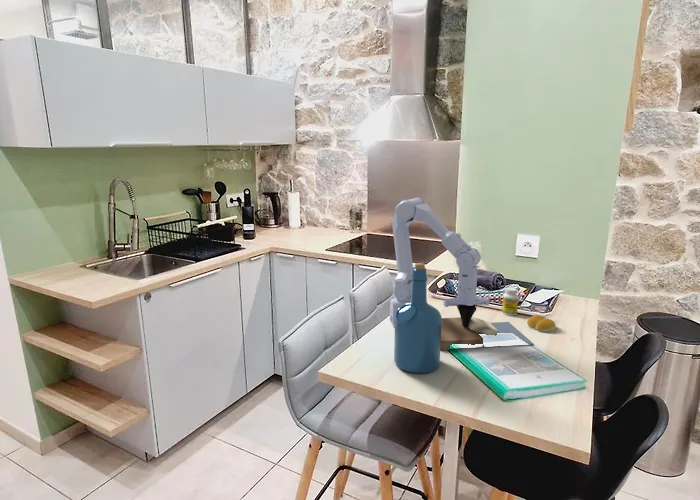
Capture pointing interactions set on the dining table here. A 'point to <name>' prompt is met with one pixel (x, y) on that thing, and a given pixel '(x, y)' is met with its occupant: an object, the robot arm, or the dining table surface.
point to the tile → (482, 326)
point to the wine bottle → (418, 329)
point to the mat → (509, 330)
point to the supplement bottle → (510, 302)
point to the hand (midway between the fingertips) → (465, 326)
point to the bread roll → (541, 324)
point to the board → (457, 333)
